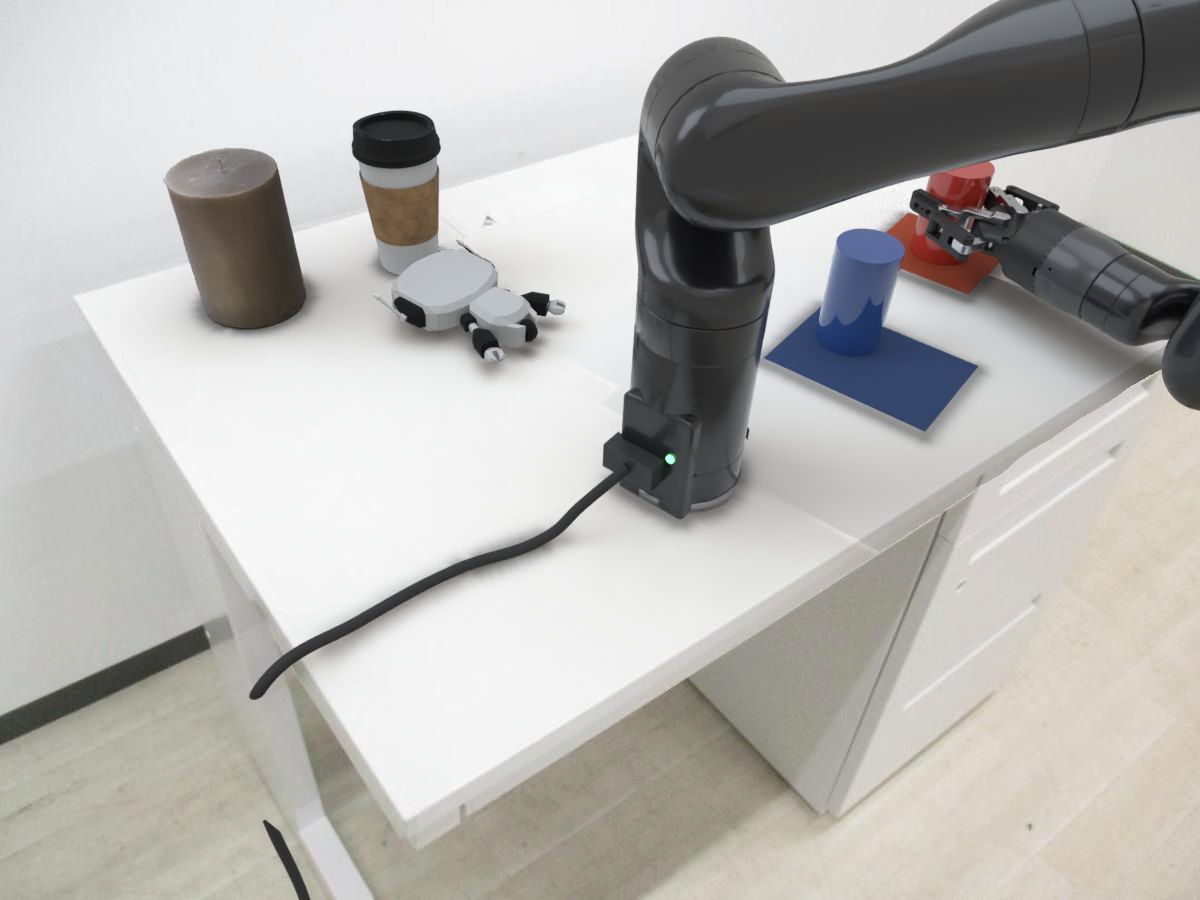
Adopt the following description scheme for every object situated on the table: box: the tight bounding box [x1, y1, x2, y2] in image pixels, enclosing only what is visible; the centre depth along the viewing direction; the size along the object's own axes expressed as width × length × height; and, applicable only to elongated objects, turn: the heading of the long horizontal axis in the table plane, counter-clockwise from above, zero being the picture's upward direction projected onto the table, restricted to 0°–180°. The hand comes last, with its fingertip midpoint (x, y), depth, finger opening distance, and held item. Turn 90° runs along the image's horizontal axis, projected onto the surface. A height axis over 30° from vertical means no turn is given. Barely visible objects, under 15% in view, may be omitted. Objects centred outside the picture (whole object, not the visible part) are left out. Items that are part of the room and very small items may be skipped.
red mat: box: [885, 212, 1000, 295], centre depth 103 cm, size 12×12×1 cm
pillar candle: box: [162, 147, 307, 329], centre depth 88 cm, size 10×10×15 cm
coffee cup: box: [351, 109, 442, 276], centre depth 94 cm, size 8×8×15 cm
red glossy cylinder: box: [910, 161, 996, 265], centre depth 100 cm, size 6×6×10 cm
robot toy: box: [371, 239, 567, 365], centre depth 90 cm, size 12×4×15 cm
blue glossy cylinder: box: [816, 228, 905, 356], centre depth 87 cm, size 6×6×10 cm
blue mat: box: [763, 306, 979, 433], centre depth 88 cm, size 12×16×1 cm
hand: (936, 190), depth 100 cm, fingers closed on red glossy cylinder, 6 cm apart
